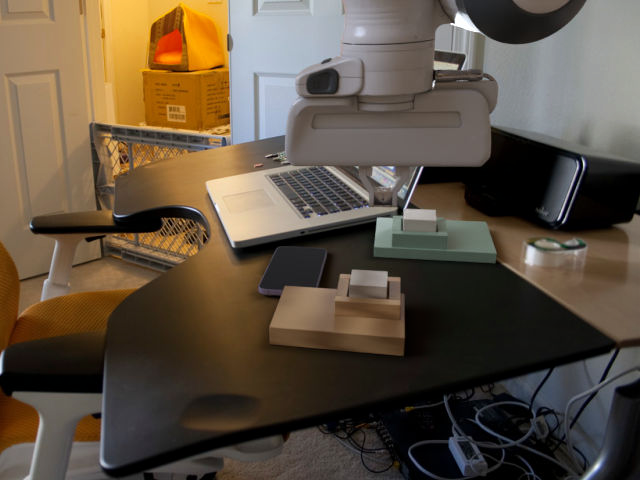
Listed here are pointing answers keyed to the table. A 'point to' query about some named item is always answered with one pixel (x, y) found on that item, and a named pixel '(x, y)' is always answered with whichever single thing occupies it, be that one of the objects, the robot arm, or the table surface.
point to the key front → (368, 284)
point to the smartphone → (293, 269)
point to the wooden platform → (340, 319)
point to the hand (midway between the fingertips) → (383, 205)
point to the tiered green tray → (435, 241)
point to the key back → (419, 220)
